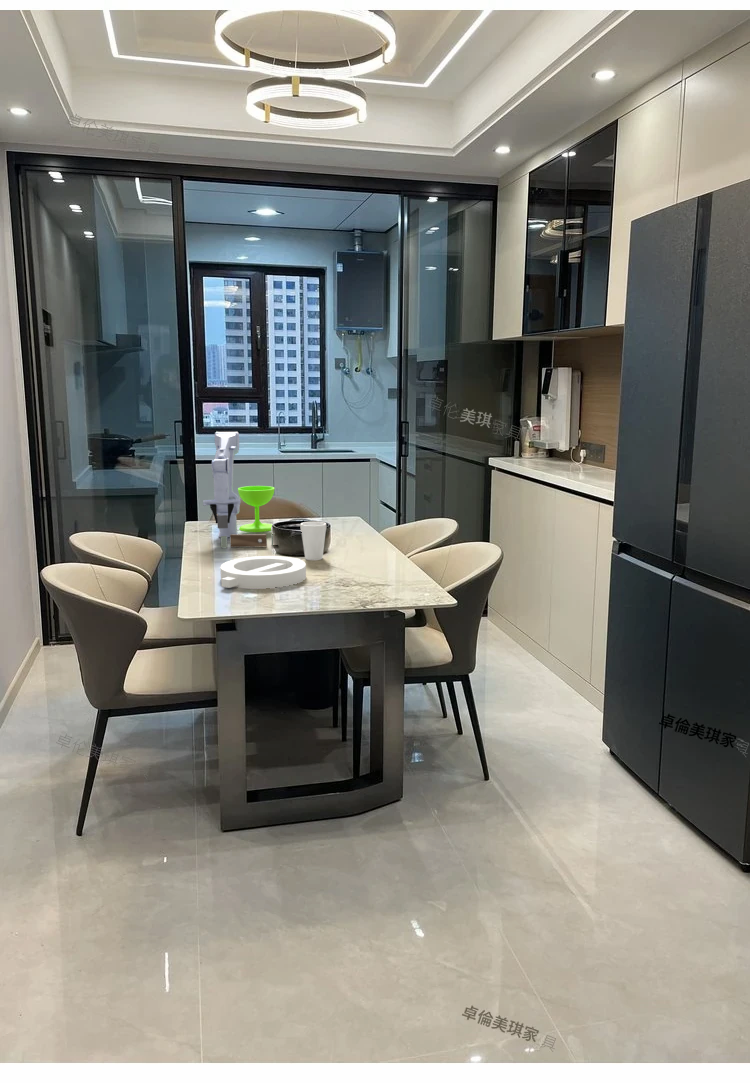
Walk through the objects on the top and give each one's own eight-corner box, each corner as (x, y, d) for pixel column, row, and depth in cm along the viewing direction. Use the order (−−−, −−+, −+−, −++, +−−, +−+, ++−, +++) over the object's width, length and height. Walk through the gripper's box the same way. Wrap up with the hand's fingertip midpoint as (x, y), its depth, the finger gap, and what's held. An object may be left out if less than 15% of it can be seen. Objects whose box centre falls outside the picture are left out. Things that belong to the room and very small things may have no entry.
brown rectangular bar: (231, 546, 313) (230, 534, 312) (266, 545, 314) (266, 534, 313) (230, 547, 310) (229, 535, 309) (266, 547, 311) (266, 535, 310)
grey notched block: (217, 527, 323) (217, 515, 323) (227, 527, 324) (227, 514, 324) (217, 528, 316) (217, 515, 315) (227, 528, 316) (227, 515, 316)
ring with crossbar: (221, 591, 248) (220, 577, 247) (220, 571, 275) (220, 557, 274) (310, 587, 253) (310, 573, 253) (301, 567, 280) (301, 554, 279)
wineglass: (283, 527, 354) (282, 487, 350) (259, 533, 340) (258, 491, 337) (255, 524, 362) (254, 485, 358) (231, 529, 349) (230, 489, 345)
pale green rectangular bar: (221, 547, 312) (220, 536, 311) (278, 545, 317) (277, 533, 316) (221, 548, 311) (220, 536, 310) (278, 545, 315) (278, 534, 314)
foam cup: (296, 557, 294) (295, 523, 291) (317, 554, 299) (317, 520, 297) (310, 562, 287) (309, 527, 284) (331, 559, 292) (331, 524, 289)
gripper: (202, 490, 310) (203, 525, 313) (240, 490, 313) (241, 523, 315) (202, 488, 317) (204, 522, 319) (239, 487, 319) (240, 520, 322)
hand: (222, 522), depth 318 cm, fingers closed on grey notched block, 4 cm apart
